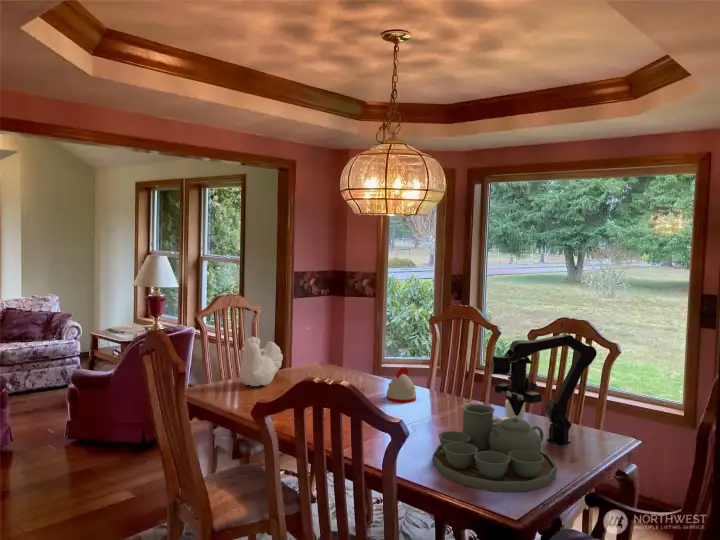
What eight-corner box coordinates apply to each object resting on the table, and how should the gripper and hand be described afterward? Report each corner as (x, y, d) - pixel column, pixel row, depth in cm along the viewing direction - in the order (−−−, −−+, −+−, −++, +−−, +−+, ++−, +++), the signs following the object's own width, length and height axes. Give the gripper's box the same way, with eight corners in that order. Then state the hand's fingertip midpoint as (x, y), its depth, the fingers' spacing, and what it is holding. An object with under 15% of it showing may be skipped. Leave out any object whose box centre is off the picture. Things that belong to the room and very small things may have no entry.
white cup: (502, 426, 243) (503, 402, 242) (507, 421, 250) (508, 397, 249) (521, 429, 239) (522, 405, 238) (526, 424, 246) (527, 400, 245)
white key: (512, 426, 230) (512, 419, 229) (504, 428, 227) (505, 420, 227) (504, 424, 233) (504, 416, 233) (497, 425, 231) (497, 418, 231)
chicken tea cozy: (422, 399, 279) (423, 368, 278) (401, 404, 270) (402, 372, 269) (400, 393, 290) (401, 362, 289) (380, 398, 280) (381, 366, 279)
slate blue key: (500, 425, 235) (501, 418, 234) (493, 427, 232) (493, 419, 232) (493, 422, 238) (493, 415, 238) (486, 424, 236) (486, 416, 235)
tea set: (409, 466, 199) (410, 418, 198) (477, 439, 227) (479, 396, 226) (515, 507, 171) (517, 450, 170) (577, 470, 199) (579, 422, 198)
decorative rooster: (246, 391, 286) (247, 340, 284) (233, 384, 298) (233, 335, 297) (292, 385, 300) (293, 336, 299) (277, 378, 313) (278, 331, 312)
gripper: (552, 377, 221) (551, 418, 222) (514, 367, 236) (512, 406, 237) (532, 380, 215) (530, 423, 216) (494, 370, 230) (493, 410, 231)
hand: (516, 415), depth 225 cm, fingers closed
